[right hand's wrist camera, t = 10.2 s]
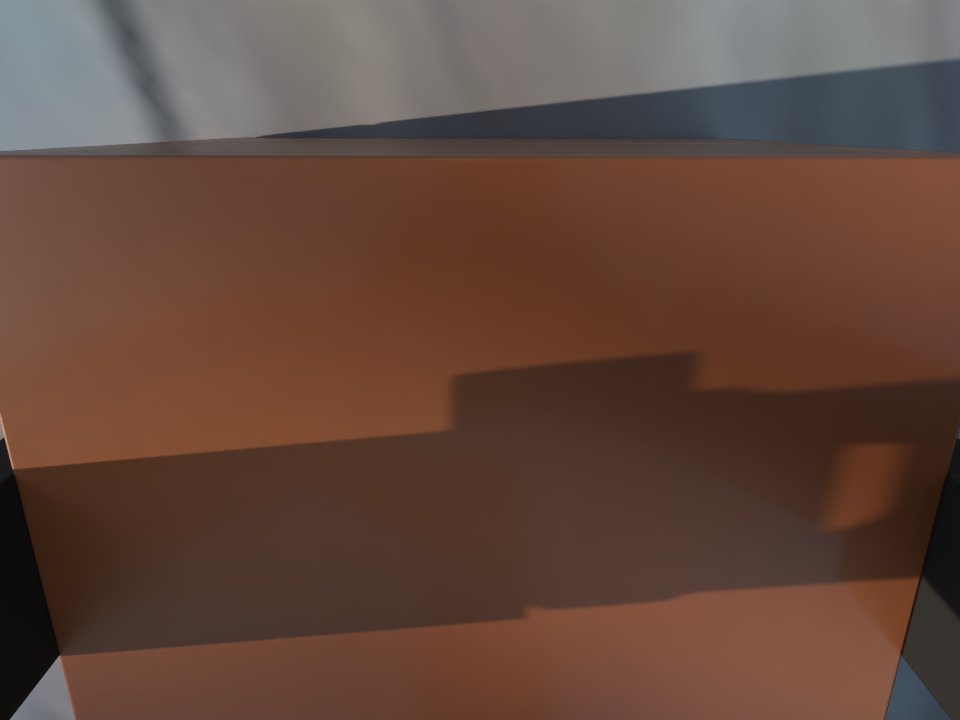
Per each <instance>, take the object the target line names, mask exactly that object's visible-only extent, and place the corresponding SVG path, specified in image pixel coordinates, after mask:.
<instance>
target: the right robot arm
mask: <svg viewBox="0 0 960 720" xmlns="http://www.w3.org/2000/svg"><path fill="white" fill-rule="evenodd" d="M58 656H59V652H58V648H57V644H56V640H55V636H54V632H53V628H52V624H51V620H50V616H49V612H48V608H47V604H46V600H45V596H44V593H43V589H42V585H41V581H40V577H39V573H38V569H37V565H36V561H35V557H34V553H33V549H32V545H31V541H30V537H29V533H28V529H27V525H26V521H25V517H24V513H23V509H22V505H21V501H20V497H19V493H18V489H17V485H16V481H15V477H14V473H13V469H12V465H11V461H10V457H9V453H8V449H7V446H6V442H5V438H3V439H1V440H0V720H10V719H11V717H12V716H13V715H14V713H15V712H16V711H17V709H18V708H19V707H20V706H21V704H22V703H23V702H24V700H25V699H26V698H27V697H28V695H29V694H30V693H31V691H32V690H33V689H34V687H35V686H36V685H37V684H38V682H39V681H40V680H41V678H42V677H43V676H44V675H45V673H46V672H47V671H48V669H49V668H50V667H51V665H52V664H53V663H54V662H55V660H56V659H57V658H58ZM902 657H903V658H904V659H905V661H906V662H907V663H908V664H909V666H910V667H911V668H912V670H913V671H914V672H915V674H916V675H917V676H918V677H919V679H920V680H921V681H922V683H923V684H924V685H925V686H926V688H927V689H928V690H929V692H930V693H931V694H932V696H933V697H934V698H935V699H936V701H937V702H938V703H939V705H940V706H941V707H942V708H943V710H944V711H945V712H946V714H947V715H948V716H949V718H950V719H951V720H960V440H959V439H958V438H957V440H956V444H955V448H954V452H953V456H952V460H951V463H950V467H949V471H948V475H947V479H946V483H945V487H944V491H943V495H942V499H941V502H940V506H939V510H938V514H937V518H936V522H935V526H934V530H933V534H932V538H931V542H930V545H929V549H928V553H927V557H926V561H925V565H924V569H923V573H922V577H921V581H920V584H919V588H918V592H917V596H916V600H915V604H914V608H913V612H912V616H911V620H910V623H909V627H908V631H907V635H906V639H905V643H904V647H903V651H902Z"/></svg>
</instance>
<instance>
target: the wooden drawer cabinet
mask: <svg viewBox="0 0 960 720" xmlns="http://www.w3.org/2000/svg"><path fill="white" fill-rule="evenodd" d="M0 422H1V426H2V430H3V434H4V438H5V442H6V446H7V449H8V453H9V457H10V461H11V465H12V469H13V473H14V477H15V481H16V485H17V489H18V493H19V497H20V501H21V505H22V509H23V513H24V517H25V521H26V525H27V529H28V533H29V537H30V541H31V545H32V549H33V553H34V557H35V561H36V565H37V569H38V573H39V577H40V581H41V585H42V589H43V593H44V596H45V600H46V604H47V608H48V612H49V616H50V620H51V624H52V628H53V632H54V636H55V640H56V644H57V648H58V652H59V656H60V660H61V664H62V668H63V672H64V676H65V680H66V684H67V688H68V692H69V696H70V700H71V704H72V708H73V712H74V716H75V720H885V717H886V713H887V709H888V705H889V702H890V698H891V694H892V690H893V686H894V682H895V678H896V674H897V670H898V666H899V663H900V659H901V655H902V651H903V647H904V643H905V639H906V635H907V631H908V627H909V623H910V620H911V616H912V612H913V608H914V604H915V600H916V596H917V592H918V588H919V584H920V581H921V577H922V573H923V569H924V565H925V561H926V557H927V553H928V549H929V545H930V542H931V538H932V534H933V530H934V526H935V522H936V518H937V514H938V510H939V506H940V502H941V499H942V495H943V491H944V487H945V483H946V479H947V475H948V471H949V467H950V463H951V460H952V456H953V452H954V448H955V444H956V440H957V436H958V432H959V428H960V153H953V152H937V151H920V150H904V149H887V148H870V147H854V146H837V145H821V144H804V143H787V142H771V141H754V140H738V139H719V138H226V139H209V140H191V141H174V142H156V143H139V144H121V145H104V146H86V147H69V148H51V149H34V150H16V151H0Z"/></svg>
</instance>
